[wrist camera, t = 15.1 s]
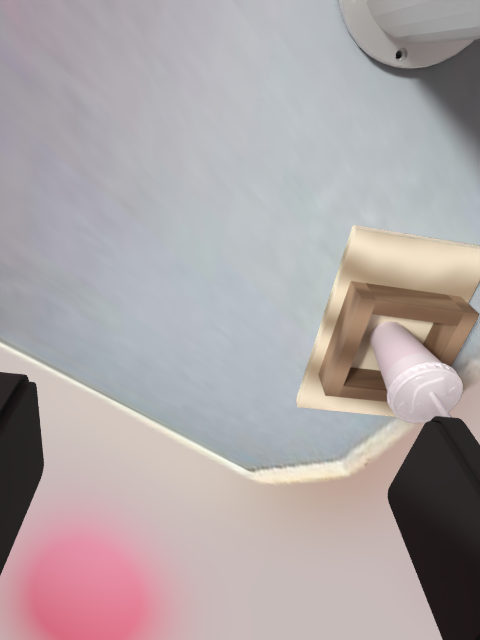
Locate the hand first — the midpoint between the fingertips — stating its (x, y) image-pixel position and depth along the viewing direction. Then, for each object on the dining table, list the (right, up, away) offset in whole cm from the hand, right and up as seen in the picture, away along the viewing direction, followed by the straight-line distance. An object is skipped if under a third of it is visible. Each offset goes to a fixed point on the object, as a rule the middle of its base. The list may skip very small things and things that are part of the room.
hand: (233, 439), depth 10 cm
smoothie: (+16, +1, +35) cm, 38 cm away
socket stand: (+16, +2, +36) cm, 39 cm away
